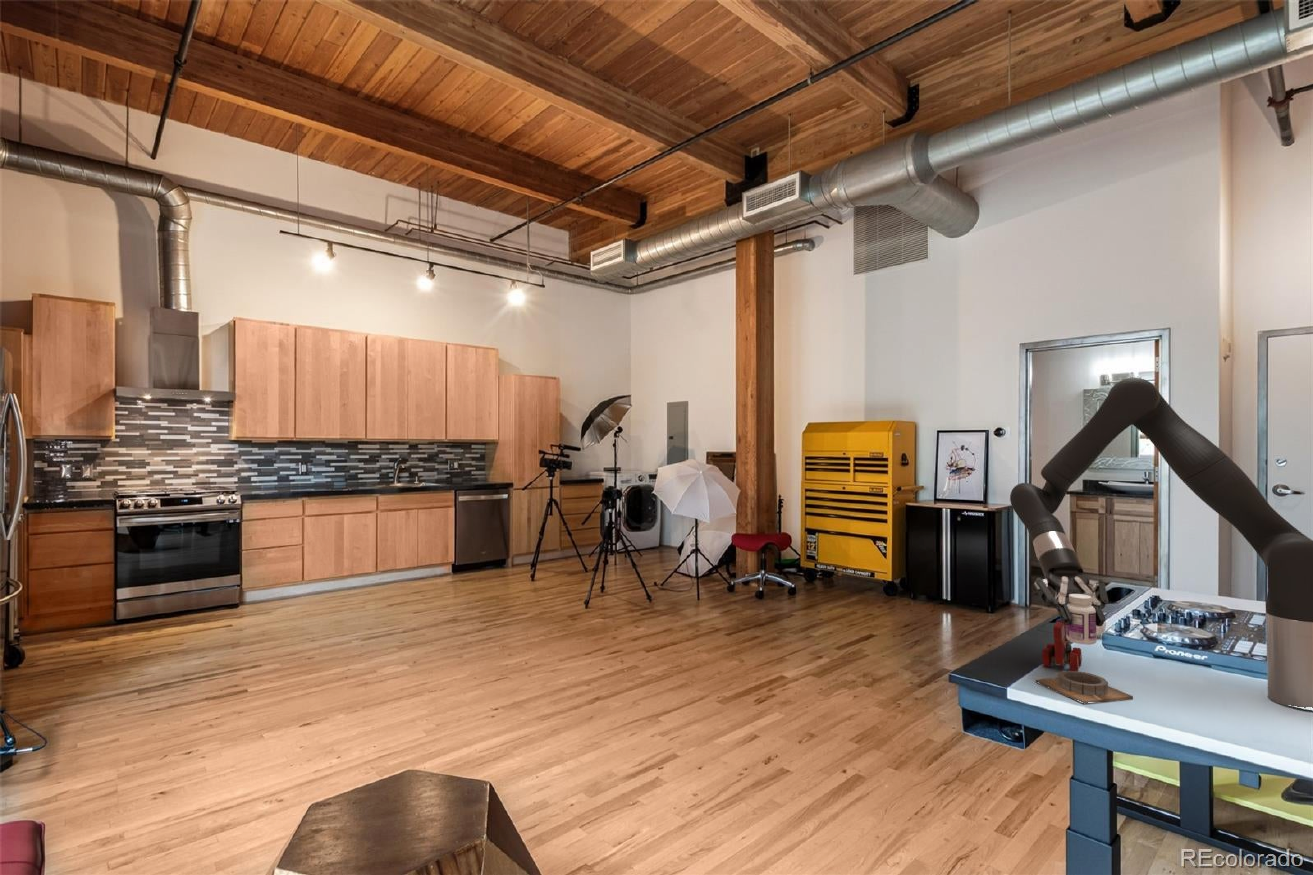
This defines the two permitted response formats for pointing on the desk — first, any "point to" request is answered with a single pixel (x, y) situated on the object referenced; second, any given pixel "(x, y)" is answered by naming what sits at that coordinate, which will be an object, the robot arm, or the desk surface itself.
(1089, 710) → the desk surface
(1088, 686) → the collar
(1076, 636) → the pill bottle
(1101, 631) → the geometric ball
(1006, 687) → the desk surface
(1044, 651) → the dark red upright piece
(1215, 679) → the desk surface
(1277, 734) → the desk surface
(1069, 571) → the robot arm
